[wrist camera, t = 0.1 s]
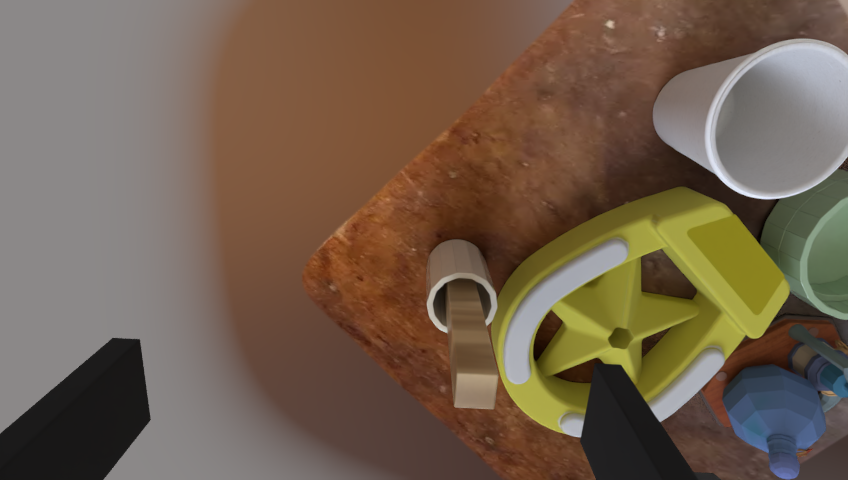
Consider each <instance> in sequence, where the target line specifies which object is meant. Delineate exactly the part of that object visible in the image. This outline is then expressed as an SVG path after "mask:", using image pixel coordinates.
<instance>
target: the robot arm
mask: <svg viewBox="0 0 848 480" xmlns="http://www.w3.org/2000/svg"><path fill="white" fill-rule="evenodd" d="M150 420H151V419H150V412H149V404H148V397H147V390H146V382H145V375H144V367H143V360H142V352H141V345H140V340H139V339H122V338H112V339H111V340H110V341H109V342H108V343H106V344H105V345H104V346H103V347H102V348H100V349H99V350H98V351H97V352H96V353H95V354H93V355H92V356H91V357H90V358H89V359H88V360H86V361H85V362H84V363H83V364H82V365H80V366H79V367H78V368H77V369H76V370H75V371H73V372H72V373H71V374H70V375H69V376H68V377H66V378H65V379H64V380H63V381H62V382H60V384H58V385H57V386H56V387H55V388H54V389H52V390H51V391H50V392H49V393H48V394H46V395H45V396H44V397H43V398H42V399H41V400H39V401H38V402H37V403H36V404H35V405H33V406H32V407H31V408H30V409H29V410H28V411H26V412H25V413H24V414H23V415H22V416H20V417H19V418H18V419H17V420H16V421H15V422H14V423H12V424H11V425H10V426H9V427H8V428H6V429H5V430H4V431H3V432H2V433H1V434H0V480H103V479H104V478H105V477H106V476H107V474H108V473H109V472H110V471H111V469H112V468H113V467H114V466H115V464H116V463H117V462H118V460H119V459H120V458H121V457H122V455H123V454H124V453H125V452H126V450H127V449H128V448H129V447H130V445H131V444H132V443H133V441H134V440H135V439H136V438H137V436H138V435H139V434H140V433H141V431H142V430H143V429H144V427H145V426H146V425H147V424H148V422H149V421H150ZM580 442H581V445H582V447H583V449H584V452H585V454H586V456H587V459H588V461H589V464H590V466H591V468H592V471H593V473H594V475H595V478H596V480H721V479H720V478H718V477H717V476H716V475H715V474H714V473H697V472H693V471H692V469H691V468H690V466H689V465H688V463H687V462H686V461H685V459H684V458H683V456H682V455H681V453H680V452H679V450H678V449H677V447H676V446H675V444H674V443H673V441H672V440H671V438H670V437H669V435H668V434H667V432H666V431H665V429H664V428H663V426H662V425H661V423H660V422H659V420H658V419H657V417H656V416H655V414H654V413H653V411H652V410H651V408H650V407H649V405H648V404H647V403H646V401H645V400H644V398H643V397H642V395H641V394H640V392H639V391H638V389H637V388H636V386H635V385H634V383H633V382H632V380H631V379H630V377H629V376H628V374H627V373H626V371H625V370H624V368H623V367H622V365H618V364H599V363H595V365H594V371H593V376H592V381H591V387H590V392H589V397H588V402H587V408H586V413H585V418H584V423H583V429H582V434H581V439H580Z"/></svg>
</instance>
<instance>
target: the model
mask: <svg viewBox="0 0 848 480" xmlns="http://www.w3.org/2000/svg"><path fill="white" fill-rule="evenodd" d="M698 392H699V394H700V396H701V398H702V399H703V401H704V403H705V405H706V407H707V408H708V410H709V411H710V413H711V414H712V416H713V417H714V419H715V420H716V422H717V423H718V425H719V426H724V427H733V429H734V431H735V433H736V435H737V436H738V437H740V438H741V439H743V440H744V441H745V442H747V443H749V444H751V445H753V446H755V447H757V448H759V449H761V450H763V451H765V452H767V453H768V455H769V459H770V461H769V467H770V470H771V471H772V472H773V473H774V474H776V475H777V476H778V477H780V478H784V479H792V478H796V477H797V476H798V473H799V467H800V464H799V462H798V460H797V456H799V457H801V456H807V453H809V452H810V451H811V450H812V449H813V448H812V449H807V448H808V447H809V446H810V445H812V444H813V443H814V442H815V441H817V440H818V439H819V438H820V436H821V435H822V434H823V433H824V432H825V431H826V423H825V415H824V413H825V412H827V411H828V410H830V409H831V408H832V407H834V406H835V405H836V404H837V403H838V402H839V401H840V400H841V397H848V347H847V346H846V345H845V344H844V343H843V342H842V340H841V338H840V335H839V333H838V331H837V329H836V326H835V324H834V322H833V320H832V318H830V317H818V316H804V315H790V314H784V315H782V316H780V317H778V318H776V319H774V320H772V322H771V323H770V325H769V326H768V328H767V329H766V331H765V332H764V334H763V335H762V336H761V337H759V338H755V339H753V338H750V337H748V336H747V335H746V336H745V337H744V338H743V340H742V341H741V342H740V344H739V345H738V346H737V347H736V349H735V350H734V351H733V352H732V353H731V355H730V356H729V357H728V358H727V359H726V361H725V363H724V365H723V366H722V367H721V369H720V370H719V371H718V372H717V373H716V374H715V375H714V376H713V377H712V378H711V379H710V380H709V381H708V382H707V383H706V384H705V385H704V386H703V387H702V388H701V389H700V390H699V391H698ZM805 449H807V450H805ZM800 454H801V455H800Z"/></svg>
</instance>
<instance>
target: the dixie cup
mask: <svg viewBox="0 0 848 480" xmlns="http://www.w3.org/2000/svg"><path fill="white" fill-rule="evenodd" d="M653 123H654V127H655V130H656V132H657V134H658V135H659V137H660V138H661V139H662V140H663V141H664V142H665V143H666V144H668V145H669V146H671V147H673V148H674V149H675V150H677V151H678V152H680V153H682V154H683V155H685V156H687V157H689V158H690V159H692V160H693V161H695V162H697V163H698V164H700V165H701V166H703V167H705V168H706V169H708V170H709V171H711V172H713V173H714V174H716V175H717V176H718V177H719V178H720V180H721V181H722V182H723V183H725V184H726V185H727V186H728V187H730V188H731V189H733V190H734V191H736V192H738V193H740V194H743V195H745V196H749V197H753V198H758V199H779V198H785V197H789V196H793V195H796V194H799V193H801V192H804V191H806V190H808V189H810V188H812V187H814V186H816V185H817V184H819V183H820V182H822V181H823V180H825V179H826V178H827V177H828V176H830V175H831V174H832V173H833V172H834V171H835V170H836V169H837V168H838V167H839V166H840V165H841V164H842V163H843V162H844V160H845V159H846V158H847V157H848V55H847V54H846V53H845V52H843V51H842V50H841V49H839V48H838V47H836V46H834V45H832V44H829V43H827V42H824V41H820V40H815V39H791V40H786V41H781V42H778V43H775V44H772V45H769V46H767V47H765V48H763V49H761V50H759V51H757V52H755V53H752V54H748V55H744V56H741V57H737V58H733V59H729V60H725V61H722V62H718V63H714V64H710V65H706V66H703V67H699V68H695V69H691V70H687V71H685V72H682V73H680V74H678V75H677V76H675V77H674V78H672V79H671V80H670V81H669V82H668V83H667V84H666V85H665V86H664V87H663V88H662V90H661V91H660V93H659V95H658V97H657V99H656V101H655V104H654V108H653Z"/></svg>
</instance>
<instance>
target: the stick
mask: <svg viewBox="0 0 848 480" xmlns="http://www.w3.org/2000/svg"><path fill="white" fill-rule="evenodd" d="M443 287H444V298H445V310H446V321H447V333H448V344H449V356H450V367H451V378H452V390H453V401H454V407H460V408H480V409H494V407H495V399H496V391H497V383H498V371H497V367H496V363H495V359H494V355H493V351H492V347H491V343H490V339H489V334H488V330H487V326H486V322H485V318H484V314H483V310H482V306H481V301H480V297H479V293H478V289H477V285H476V281H474V280H473V279H466V278H457V279H454V280H451V281H449V282H446V283H445V284H444V285H443Z"/></svg>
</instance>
